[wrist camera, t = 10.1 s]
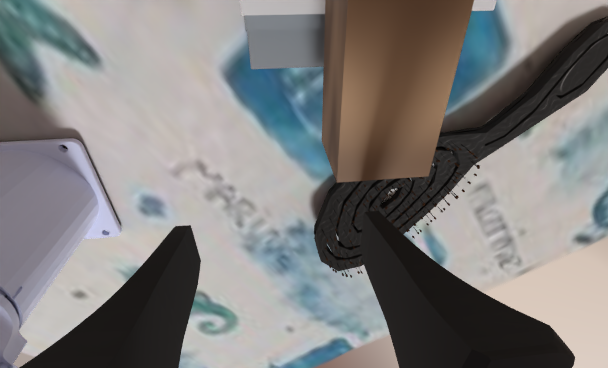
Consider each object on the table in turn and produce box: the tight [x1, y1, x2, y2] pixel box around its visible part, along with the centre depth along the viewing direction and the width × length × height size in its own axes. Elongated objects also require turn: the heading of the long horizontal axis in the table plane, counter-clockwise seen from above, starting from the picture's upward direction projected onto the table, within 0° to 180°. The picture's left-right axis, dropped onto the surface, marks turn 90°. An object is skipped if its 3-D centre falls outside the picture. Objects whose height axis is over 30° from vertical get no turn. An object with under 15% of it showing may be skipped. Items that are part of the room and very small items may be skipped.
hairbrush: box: [314, 16, 608, 278], centre depth 22 cm, size 8×4×25 cm
